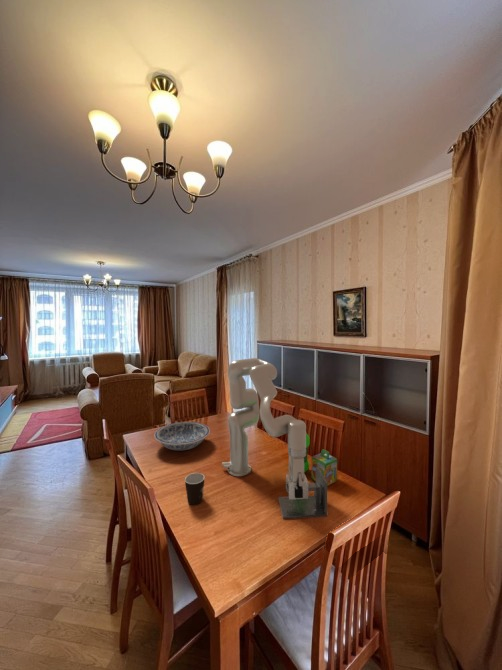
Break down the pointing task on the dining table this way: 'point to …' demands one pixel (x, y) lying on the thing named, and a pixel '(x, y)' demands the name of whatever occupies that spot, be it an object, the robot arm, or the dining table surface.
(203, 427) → the ceramic bowl
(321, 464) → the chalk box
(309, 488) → the bracket
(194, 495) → the dark grey cup
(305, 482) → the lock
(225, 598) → the dining table surface
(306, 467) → the plastic bottle
